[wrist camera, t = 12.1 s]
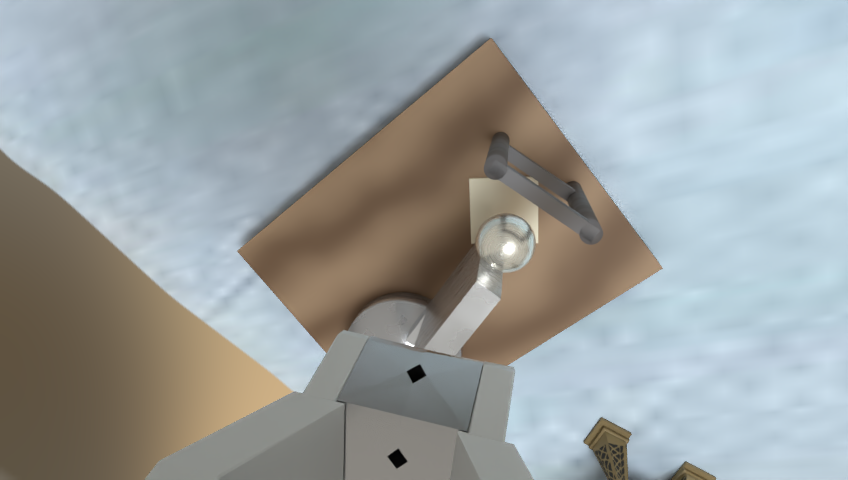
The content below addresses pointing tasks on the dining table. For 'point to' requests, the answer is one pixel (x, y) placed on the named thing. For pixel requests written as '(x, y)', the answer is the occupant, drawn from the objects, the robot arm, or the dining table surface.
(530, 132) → the stand
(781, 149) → the dining table surface
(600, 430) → the eiffel tower
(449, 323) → the crank handle
